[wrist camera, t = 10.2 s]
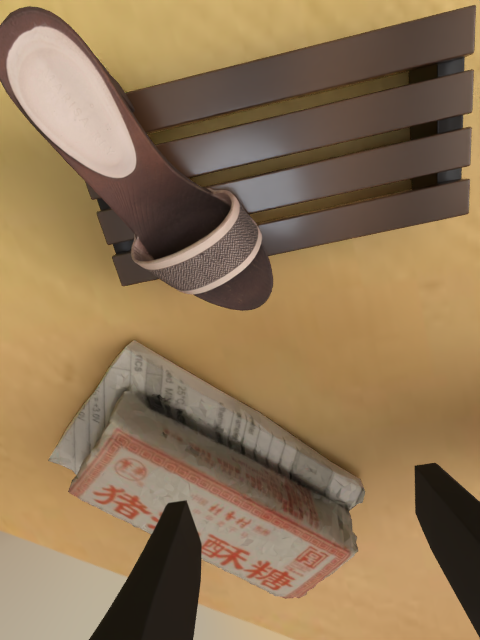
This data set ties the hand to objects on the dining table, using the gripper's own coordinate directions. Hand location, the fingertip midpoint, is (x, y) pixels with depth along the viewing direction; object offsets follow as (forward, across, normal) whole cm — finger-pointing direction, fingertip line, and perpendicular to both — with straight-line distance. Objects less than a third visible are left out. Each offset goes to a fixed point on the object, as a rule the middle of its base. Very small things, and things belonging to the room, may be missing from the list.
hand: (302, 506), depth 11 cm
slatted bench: (+10, -1, -10) cm, 14 cm away
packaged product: (+10, +5, +7) cm, 13 cm away
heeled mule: (+7, +3, -10) cm, 12 cm away
